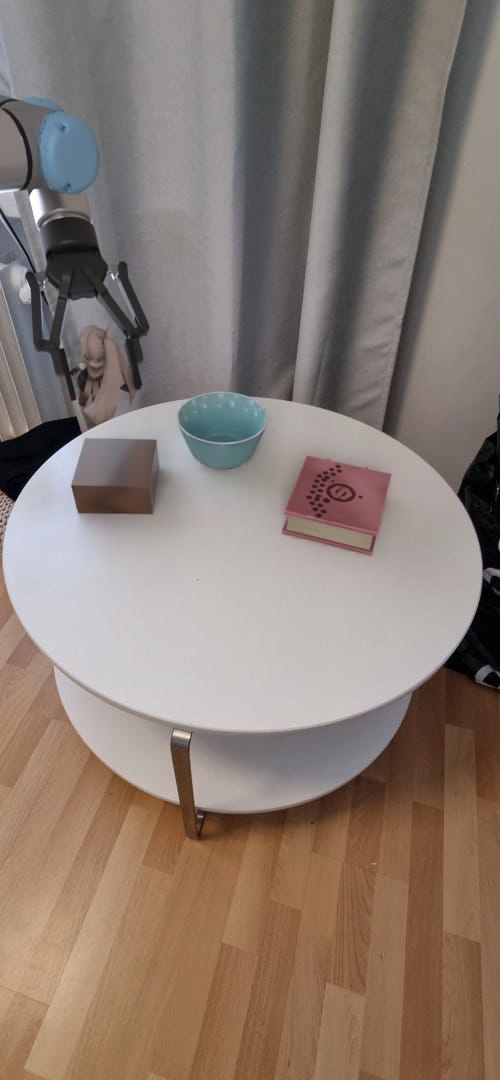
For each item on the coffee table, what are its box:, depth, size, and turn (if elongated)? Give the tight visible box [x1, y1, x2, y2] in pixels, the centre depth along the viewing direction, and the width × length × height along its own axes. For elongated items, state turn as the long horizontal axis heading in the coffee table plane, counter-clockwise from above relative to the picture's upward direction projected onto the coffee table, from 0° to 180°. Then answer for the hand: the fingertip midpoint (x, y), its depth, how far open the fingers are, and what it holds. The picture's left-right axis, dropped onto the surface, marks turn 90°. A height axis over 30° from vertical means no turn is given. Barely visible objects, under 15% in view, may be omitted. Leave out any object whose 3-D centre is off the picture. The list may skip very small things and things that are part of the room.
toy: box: [70, 324, 139, 426], centre depth 82 cm, size 9×8×15 cm
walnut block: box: [70, 437, 160, 515], centre depth 96 cm, size 12×12×6 cm
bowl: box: [175, 391, 269, 470], centre depth 103 cm, size 16×16×8 cm
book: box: [281, 454, 392, 557], centre depth 95 cm, size 14×15×5 cm
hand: (106, 392), depth 81 cm, fingers closed on toy, 8 cm apart
